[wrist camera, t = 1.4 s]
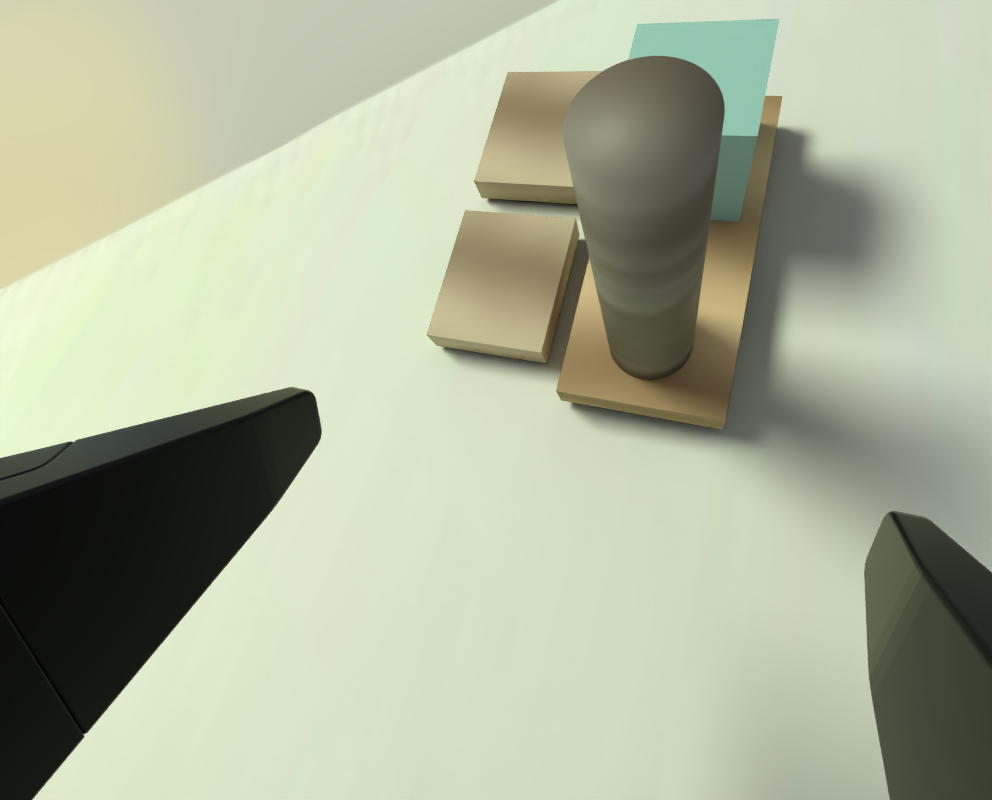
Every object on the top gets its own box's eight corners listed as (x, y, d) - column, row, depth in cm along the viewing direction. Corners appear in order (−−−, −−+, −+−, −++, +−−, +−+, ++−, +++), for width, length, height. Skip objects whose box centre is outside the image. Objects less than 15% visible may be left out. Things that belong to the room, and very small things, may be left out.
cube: (738, 221, 21) (757, 136, 17) (619, 213, 23) (610, 132, 19) (757, 122, 22) (779, 19, 18) (641, 120, 24) (637, 24, 20)
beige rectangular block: (546, 363, 23) (540, 352, 22) (436, 345, 25) (426, 334, 24) (615, 92, 26) (613, 71, 25) (513, 92, 28) (507, 72, 27)
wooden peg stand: (722, 429, 21) (795, 247, 9) (561, 400, 23) (462, 221, 11) (776, 118, 24) (881, -300, 12) (630, 116, 26) (606, -247, 14)
